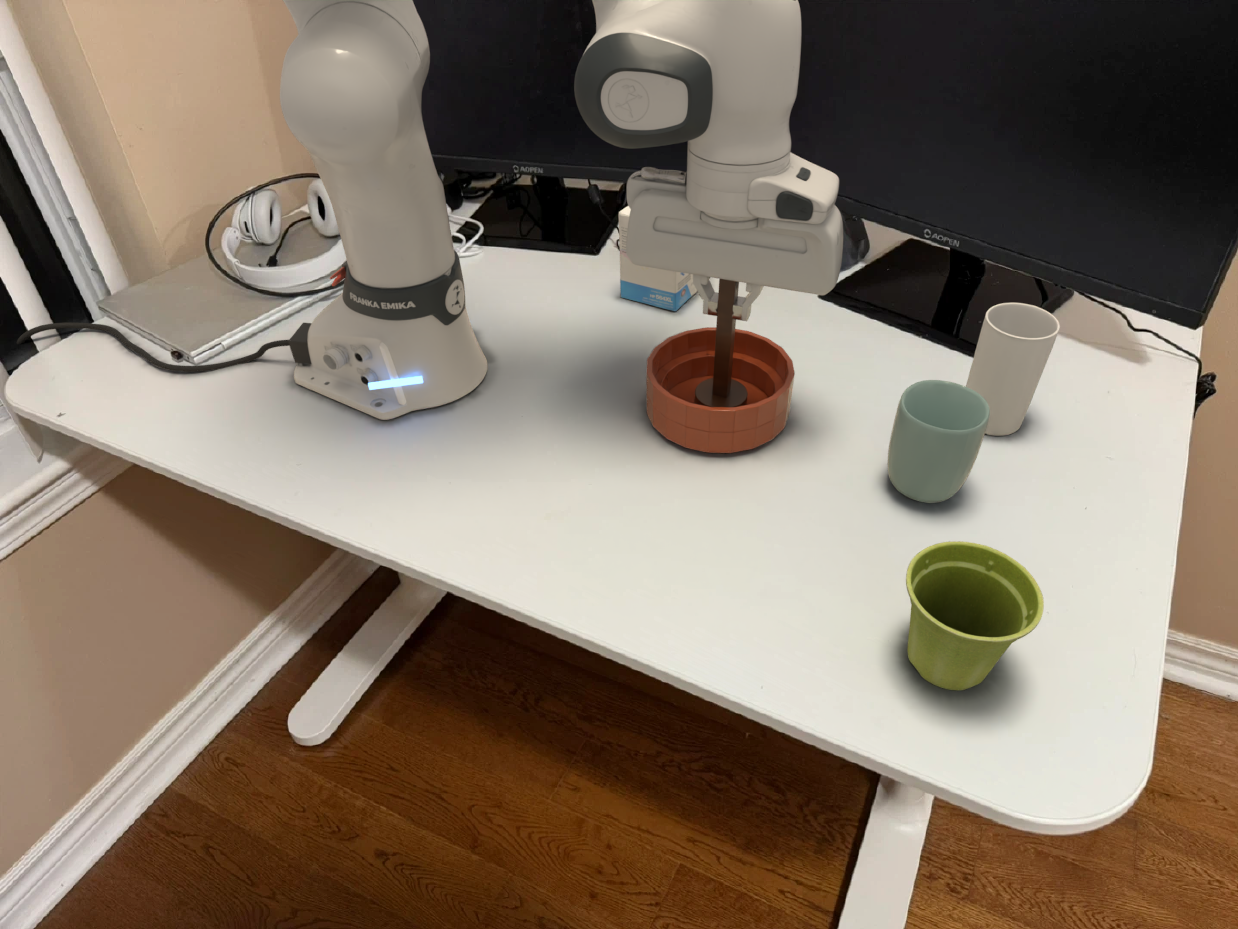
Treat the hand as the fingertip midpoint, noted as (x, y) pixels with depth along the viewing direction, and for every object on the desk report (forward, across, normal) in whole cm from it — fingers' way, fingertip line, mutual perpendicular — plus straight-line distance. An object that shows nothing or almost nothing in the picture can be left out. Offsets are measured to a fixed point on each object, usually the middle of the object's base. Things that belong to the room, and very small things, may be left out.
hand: (726, 314), depth 84 cm
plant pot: (+12, +26, -25) cm, 38 cm away
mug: (+12, +28, +10) cm, 32 cm away
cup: (+12, +22, -5) cm, 25 cm away
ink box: (+12, -14, +23) cm, 30 cm away
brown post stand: (+11, 0, 0) cm, 11 cm away
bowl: (+12, 0, 0) cm, 12 cm away
